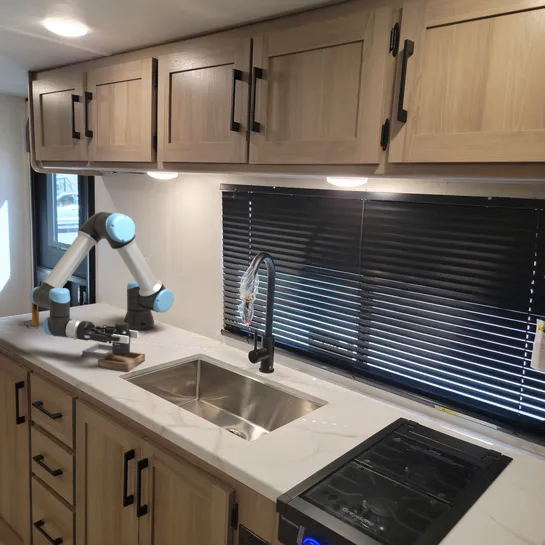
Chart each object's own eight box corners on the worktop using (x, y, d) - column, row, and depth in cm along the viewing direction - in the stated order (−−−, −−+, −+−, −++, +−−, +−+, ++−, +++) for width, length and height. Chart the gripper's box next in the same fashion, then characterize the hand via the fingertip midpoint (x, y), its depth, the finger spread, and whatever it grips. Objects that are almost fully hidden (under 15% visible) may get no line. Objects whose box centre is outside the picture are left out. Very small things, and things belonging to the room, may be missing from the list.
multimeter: (16, 321, 243) (15, 282, 240) (38, 320, 247) (38, 281, 244) (15, 329, 230) (13, 288, 226) (38, 328, 234) (37, 287, 231)
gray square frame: (97, 347, 212) (97, 343, 211) (120, 351, 209) (120, 346, 209) (82, 355, 201) (82, 351, 201) (106, 359, 199) (106, 354, 198)
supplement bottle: (111, 356, 189) (111, 325, 187) (112, 350, 196) (112, 321, 194) (130, 355, 191) (130, 325, 189) (130, 349, 198) (130, 321, 196)
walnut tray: (116, 356, 202) (116, 349, 202) (144, 361, 199) (144, 353, 199) (97, 367, 190) (97, 359, 189) (128, 372, 187) (128, 364, 186)
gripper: (95, 332, 206) (145, 339, 201) (65, 346, 187) (119, 354, 182) (95, 315, 205) (145, 322, 200) (65, 327, 186) (119, 334, 181)
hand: (133, 337), depth 191 cm, fingers closed on supplement bottle, 7 cm apart
